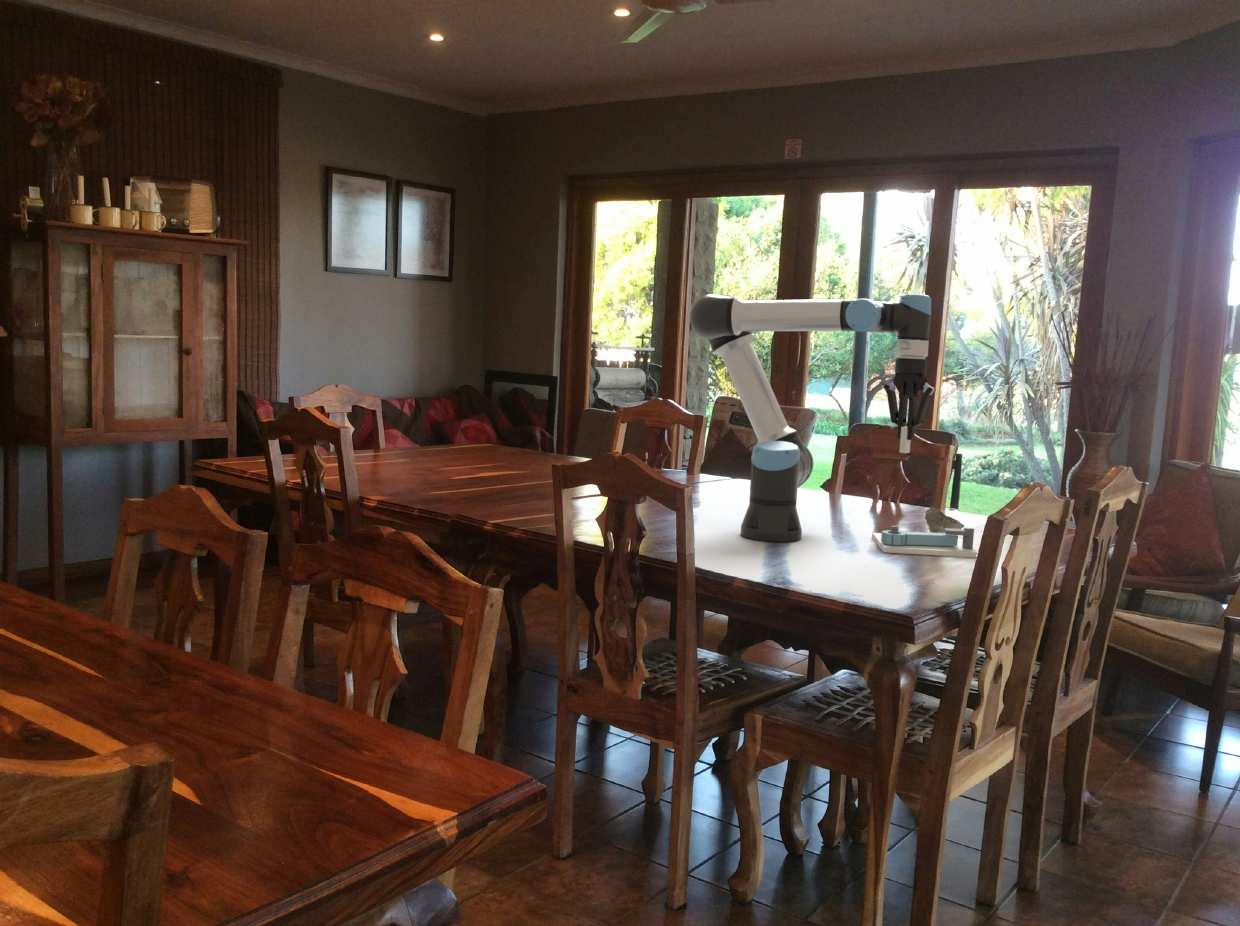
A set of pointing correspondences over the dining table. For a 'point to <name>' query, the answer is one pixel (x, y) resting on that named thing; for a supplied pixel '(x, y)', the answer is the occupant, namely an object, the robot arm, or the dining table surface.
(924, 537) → the link
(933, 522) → the rock
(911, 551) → the board
